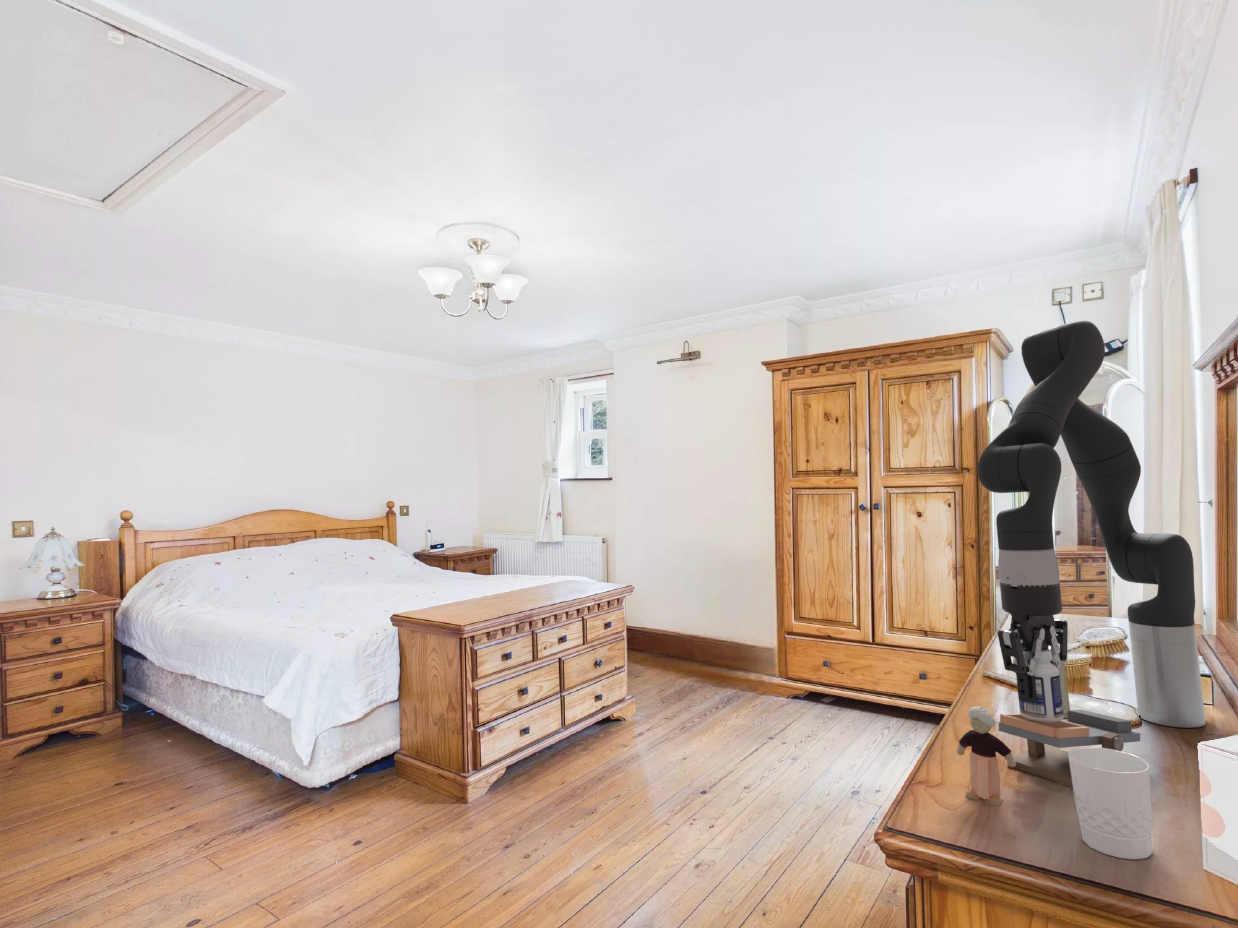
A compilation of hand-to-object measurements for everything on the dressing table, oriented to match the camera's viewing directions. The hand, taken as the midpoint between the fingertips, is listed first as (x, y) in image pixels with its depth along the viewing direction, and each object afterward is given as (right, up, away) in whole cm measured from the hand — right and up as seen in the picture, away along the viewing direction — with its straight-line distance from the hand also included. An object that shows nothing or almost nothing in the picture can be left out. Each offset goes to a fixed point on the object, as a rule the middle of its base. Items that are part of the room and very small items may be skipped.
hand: (1039, 695), depth 94 cm
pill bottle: (0, -3, 0) cm, 3 cm away
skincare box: (+20, -14, +28) cm, 37 cm away
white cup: (-2, -12, -17) cm, 21 cm away
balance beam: (+6, -6, +3) cm, 10 cm away
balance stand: (+7, -12, +2) cm, 14 cm away
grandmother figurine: (-10, -13, -4) cm, 17 cm away
